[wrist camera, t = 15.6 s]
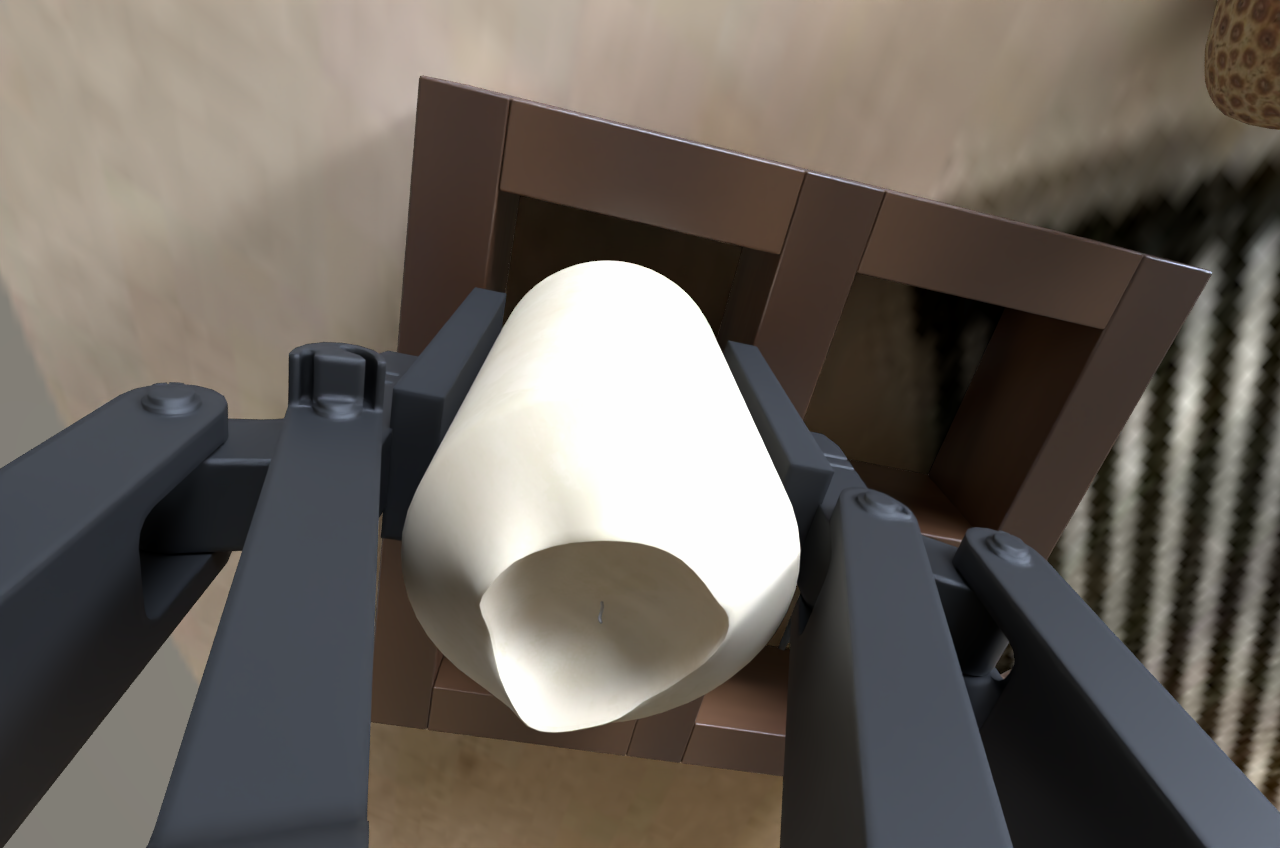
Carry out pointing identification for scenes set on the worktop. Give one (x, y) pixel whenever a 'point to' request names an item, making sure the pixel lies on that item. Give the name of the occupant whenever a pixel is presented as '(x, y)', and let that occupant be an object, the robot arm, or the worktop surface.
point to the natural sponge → (1245, 61)
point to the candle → (601, 510)
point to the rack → (780, 357)
